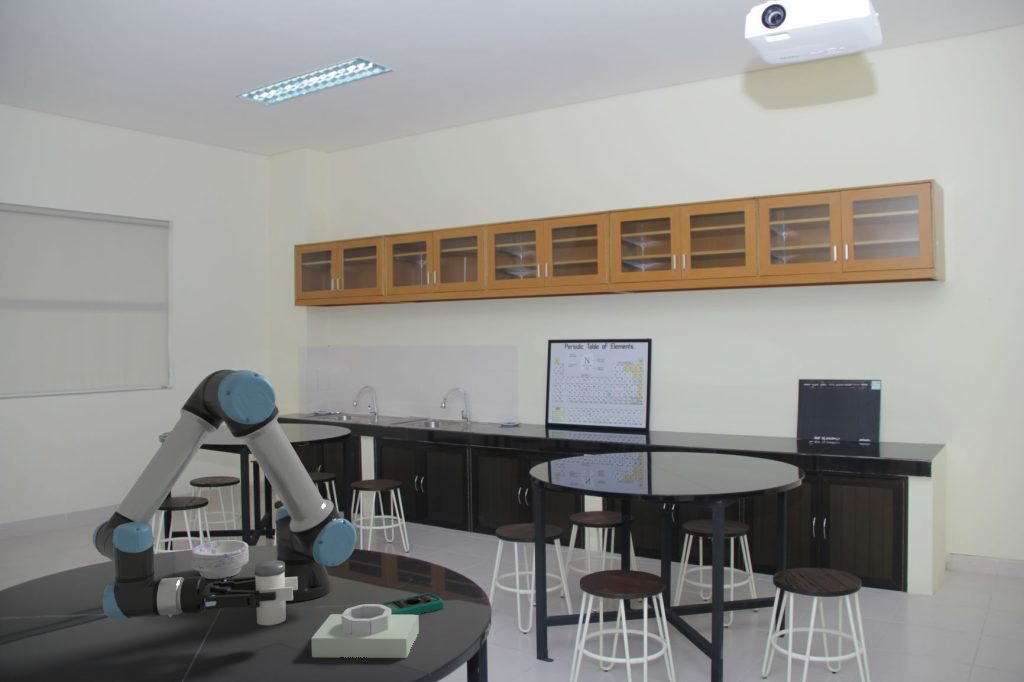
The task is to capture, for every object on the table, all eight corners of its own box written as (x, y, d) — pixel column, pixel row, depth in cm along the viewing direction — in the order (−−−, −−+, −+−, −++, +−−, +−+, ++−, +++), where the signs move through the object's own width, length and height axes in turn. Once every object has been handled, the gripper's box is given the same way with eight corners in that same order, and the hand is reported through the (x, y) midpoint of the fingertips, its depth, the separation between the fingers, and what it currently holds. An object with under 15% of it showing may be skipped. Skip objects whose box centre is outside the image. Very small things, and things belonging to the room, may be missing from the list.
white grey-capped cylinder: (262, 614, 177) (260, 560, 176) (290, 614, 176) (288, 560, 176) (252, 625, 171) (250, 569, 170) (280, 625, 170) (278, 569, 170)
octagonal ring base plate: (331, 631, 182) (330, 601, 182) (418, 632, 181) (418, 601, 181) (311, 657, 168) (311, 623, 168) (406, 658, 167) (405, 624, 167)
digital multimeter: (445, 610, 196) (445, 598, 196) (389, 623, 188) (389, 611, 188) (431, 602, 202) (431, 590, 202) (376, 614, 194) (376, 602, 194)
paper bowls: (238, 582, 219) (237, 553, 219) (182, 583, 219) (181, 554, 219) (256, 566, 234) (255, 538, 234) (204, 566, 235) (203, 539, 235)
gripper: (196, 597, 181) (302, 590, 183) (170, 629, 162) (288, 621, 165) (195, 564, 181) (300, 558, 183) (168, 593, 162) (286, 585, 164)
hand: (294, 588), depth 174 cm, fingers closed on white grey-capped cylinder, 6 cm apart
